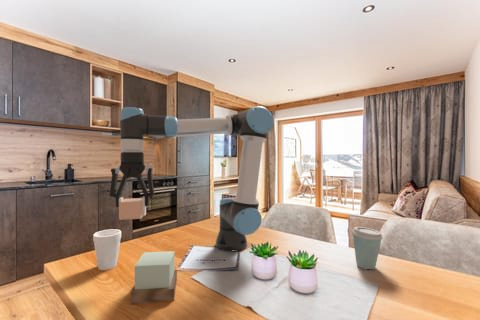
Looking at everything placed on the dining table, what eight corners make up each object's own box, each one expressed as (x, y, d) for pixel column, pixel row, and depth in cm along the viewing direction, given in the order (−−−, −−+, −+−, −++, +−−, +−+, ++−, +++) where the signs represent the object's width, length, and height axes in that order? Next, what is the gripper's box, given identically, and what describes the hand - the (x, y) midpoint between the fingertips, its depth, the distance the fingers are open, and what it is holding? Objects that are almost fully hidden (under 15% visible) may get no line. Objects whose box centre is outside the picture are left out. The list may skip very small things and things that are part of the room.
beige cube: (145, 213, 89) (145, 198, 89) (140, 218, 83) (140, 201, 82) (125, 214, 88) (125, 198, 88) (119, 219, 81) (119, 202, 81)
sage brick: (174, 271, 81) (174, 251, 81) (169, 287, 72) (169, 264, 71) (144, 272, 80) (144, 252, 80) (134, 289, 70) (134, 266, 70)
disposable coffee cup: (367, 259, 100) (368, 224, 100) (388, 271, 90) (389, 232, 90) (345, 262, 98) (346, 226, 98) (365, 275, 87) (366, 234, 87)
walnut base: (176, 281, 83) (176, 269, 83) (174, 301, 71) (174, 288, 71) (140, 284, 80) (140, 272, 80) (131, 306, 69) (131, 292, 69)
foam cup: (108, 273, 86) (108, 238, 86) (87, 270, 88) (87, 236, 88) (126, 262, 96) (126, 230, 96) (106, 259, 98) (106, 228, 97)
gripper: (162, 151, 91) (163, 211, 91) (105, 151, 87) (106, 214, 87) (160, 151, 83) (160, 216, 84) (97, 151, 79) (98, 219, 80)
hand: (132, 215), depth 85 cm, fingers closed on beige cube, 7 cm apart
